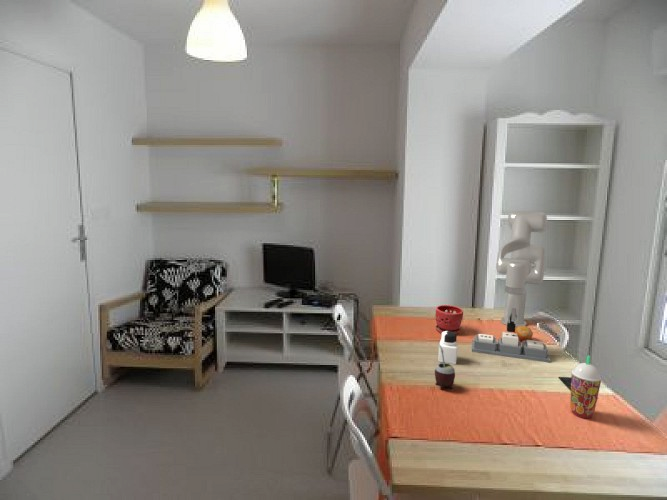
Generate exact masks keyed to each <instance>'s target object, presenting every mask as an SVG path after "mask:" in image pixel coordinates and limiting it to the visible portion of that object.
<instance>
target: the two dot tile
mask: <svg viewBox="0 0 667 500" xmlns="http://www.w3.org/2000/svg"><path fill="white" fill-rule="evenodd" d="M501 338H502V344H504V345H512V346H518V335H517V334H514V332H507V331H506V332H505V331H502V335H501Z"/></svg>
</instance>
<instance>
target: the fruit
mask: <svg viewBox="0 0 667 500" xmlns="http://www.w3.org/2000/svg"><path fill="white" fill-rule="evenodd" d="M513 333H514V334H517V335H518V340H519V341H520V342H521V343H522V341H527V340H532V339H533V335H534V332H533V331H532V329H531V328H529V327H528V326H527V325H526V326H518V327H515V332H513Z"/></svg>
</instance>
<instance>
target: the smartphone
mask: <svg viewBox="0 0 667 500" xmlns="http://www.w3.org/2000/svg"><path fill="white" fill-rule="evenodd" d="M557 379H559V380H560V381H561V383H562V384H564V386H565V387H566V388H567V389H568V390H569V391H570V392H571V376H570V377H569V376H568V377H567V376H558V378H557Z"/></svg>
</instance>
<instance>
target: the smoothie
mask: <svg viewBox="0 0 667 500" xmlns="http://www.w3.org/2000/svg"><path fill="white" fill-rule="evenodd" d="M590 359H591V356H590V355H587V356H586V362H581V363H578V364H576V365H575V366H574V367H573V369H572V370H570V371H571V372H570V373H571V375H570V377H571V391H570V398H569V399H570V401H569V403H570V404H569V408H570V411H571V413H572V414H573V415H574V416H577V417H579V418H582V419H590V418H592V416H593V415H594V414H595V411H596V406H597V402H598V398H599V397H598V396H599V392H600V387H601V383H602V382H601V381H602V380H603V379H602V376H601V375H602V374H600V370H599V369H598V368H597V367H596V366H595V365H593V364H592V363H590Z"/></svg>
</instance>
